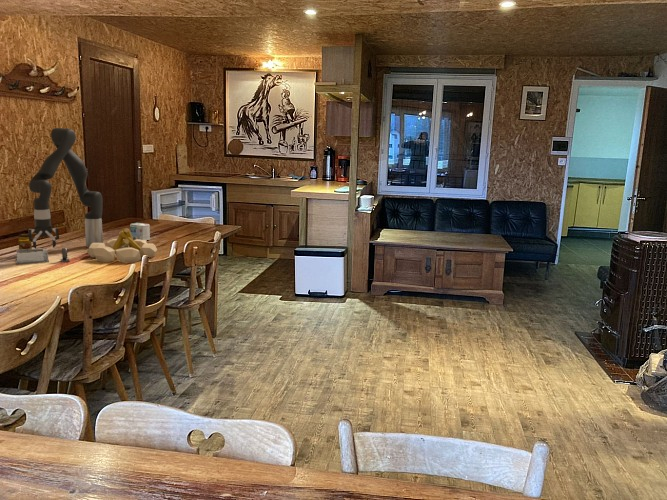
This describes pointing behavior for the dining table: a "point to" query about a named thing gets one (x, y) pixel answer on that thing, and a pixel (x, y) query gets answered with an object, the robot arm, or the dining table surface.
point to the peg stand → (64, 255)
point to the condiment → (24, 242)
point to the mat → (31, 262)
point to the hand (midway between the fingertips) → (44, 247)
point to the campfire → (122, 249)
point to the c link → (32, 255)
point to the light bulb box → (140, 231)
